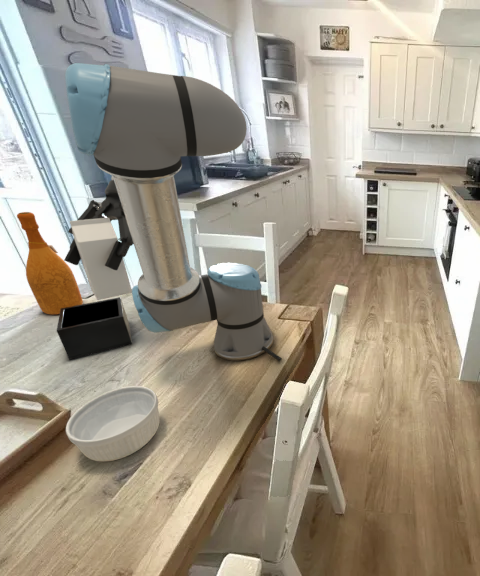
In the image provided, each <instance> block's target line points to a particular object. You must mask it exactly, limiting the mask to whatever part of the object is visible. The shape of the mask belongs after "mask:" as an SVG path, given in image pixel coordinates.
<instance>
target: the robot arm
mask: <svg viewBox="0 0 480 576" xmlns="http://www.w3.org/2000/svg"><path fill="white" fill-rule="evenodd" d="M64 78H65V90H66V98H67V104H68V110H69V116H70V123H71V129H72V133H73V137H74V141H75V145H76V148H77V151H78V152H79V153H81V154H83V155H87V156H89V157H90V156H91V157H92V156H93V157H94V161H95V164H96V166H97V167H98V168H99V169H100V170H101V171H102V172H105V173H106V174H107V175H110V176H111V177H110V179H111V180H109V182H108V184H107V186H106V187H105V189H104V194H105V198H104V200H102V201H101V202H98V201H96V200H95V199H92V200H90V201H89V203H88V206H87V208H85V210H84V211H83V213H81V215H80V216H79V217H78V218H77V220H88V219H99V218H110V222H111V223H112V221H117V224H118V231H119V238H117V239H118V241H116V242H115V245H114V247H113V249H112V251H111V253H110V255H109V257H108V260H107V262H106V264H105V266H107V267H109V268H111V269H113V270H118V267H119V265H120V263H121V261H122V258H123V259H124V258H125V257H126V256H127V254H128V251H129V249H130V248H131V247H132V246H133V247H134V249H135V253H136V256H137V259H138V262H139V265H140V268H141V272H142V274H141V275H140V277H138V281H137V284H136V285H134V286H133V287H131V289H132V293H131V295H132V301H133V303H134V304H133V305H134V307H135V309H136V312H137V315H138V317H139V318H140V319H139V320H140V321H141V323H142V325H143V326H144V328H146V330H147V331H149V332H151V333H154V334H158V333H164V332H172V331H174V330H179V329H183V328H187V327H192V326H197V325H201V324H205V323H209V322H213V321H216V325H217V326H216V329H215V334H214V339H213V349H214V352H215V354H216V355H217V357H219V358H221V359H223V360H226V361H231V362H232V361H233V362H235V361H237V362H240V361H247V360H252V359H254V358H256V357H260V356H261V355H263V354H265V353H266V354H268V355H269V356H271V357H272V358H274V359H275V360H276V361H278V362H281V360H282V357H281V356H280V355H278V354H277V353H275V352H273V351H272V350H270V348H271V347H272V346H273V344H274V336H273V331H272V329H271V328H270V326H269V323H268V322H267V320H266V318H265V315H264V305H263V296H262V295H263V294H262V283H261V279H260V274H259V272H258V271H257V269H255V268H254V267H252V266H250V265H248V264H243V263H237V262H221V263H216V264H214V265H211V266H209V268H208V269H207V273H206V274H199V272H198V271H197V270H196V269H195V268H193V267H191V265H190V259H189V255H188V254H189V253H188V248H187V243H186V237H185V230H184V226H183V222H182V221H183V220H182V214H181V209H180V203H179V198H178V197H179V196H178V193H177V187H176V181H175V175H176V174H178V173H180V171H181V170H182V167H183V163H182V157H212V156H217V155H218V156H219V155H222V154H223V155H224V154H227V153H230V152H233V151H235V150H237V149H238V148H240V146H241V145H242V144H244V143H243V142H244V141H245V140H246V136H247V131H248V130H247V122H246V118H245V115H244V113H243V111H242V109H241V108H240V106H239V105H238V104H237V102H236V101H235V100H234V99H233V98H232V97H231V96H230V95H229V94H227V93H225V91H223V90H222V89H220V88H218V87H217V86H214V85H213V84H211V83H209V82H206V81H204V80H203V79H198V78H195V77H191V76H188V75H187V76H186V75H175V74H167V73H161V72H154V71H147V70H140V69H135V68H128V67H121V66H116V65H115V66H114V65H110V64H109V63H105V64H103V65H101V64H91V63H81V62H75V63H72V64H70V65H68V67H67V68H66V70H65V73H64ZM67 231H68V233H69V234H71V235H73V233H72V228H71V227H70V228H69V229H68V230H67ZM63 260H64V261H65V262H66V263H69V264H71V265H75V266H78V265H79V264H80V261H82V260H81V257H80V254H79V251H78V248H77V245H76V242H75V239H74V238H73V239H72V241H71V243H70V245H69V250H68V252H67V254H66V256H65V258H64V259H63Z"/></svg>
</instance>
